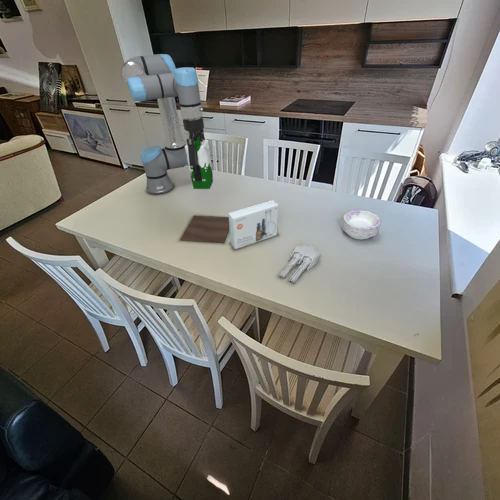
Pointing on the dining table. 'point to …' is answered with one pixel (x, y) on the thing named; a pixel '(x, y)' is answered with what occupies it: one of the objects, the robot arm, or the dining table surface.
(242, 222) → the skincare box
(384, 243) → the dining table surface
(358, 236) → the paper bowls
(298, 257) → the turret
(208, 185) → the soya milk
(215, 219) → the walnut board
